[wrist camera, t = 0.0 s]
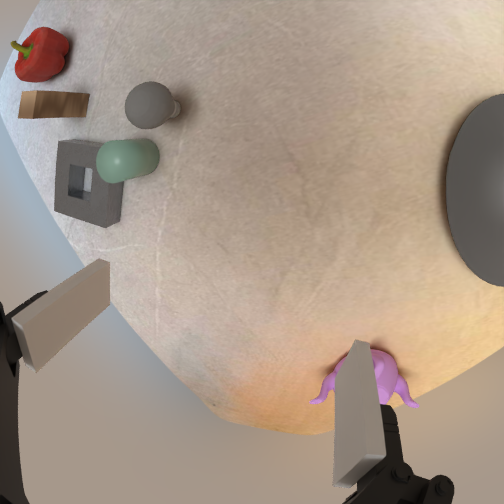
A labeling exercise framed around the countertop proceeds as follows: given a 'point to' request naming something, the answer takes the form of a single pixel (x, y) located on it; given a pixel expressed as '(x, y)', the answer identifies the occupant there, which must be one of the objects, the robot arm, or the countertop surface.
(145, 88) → the light bulb
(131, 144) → the green round bit
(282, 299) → the countertop surface
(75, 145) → the bore block
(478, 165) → the flat disc
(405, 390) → the teapot
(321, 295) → the countertop surface
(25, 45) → the vegetable
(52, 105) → the walnut square peg
